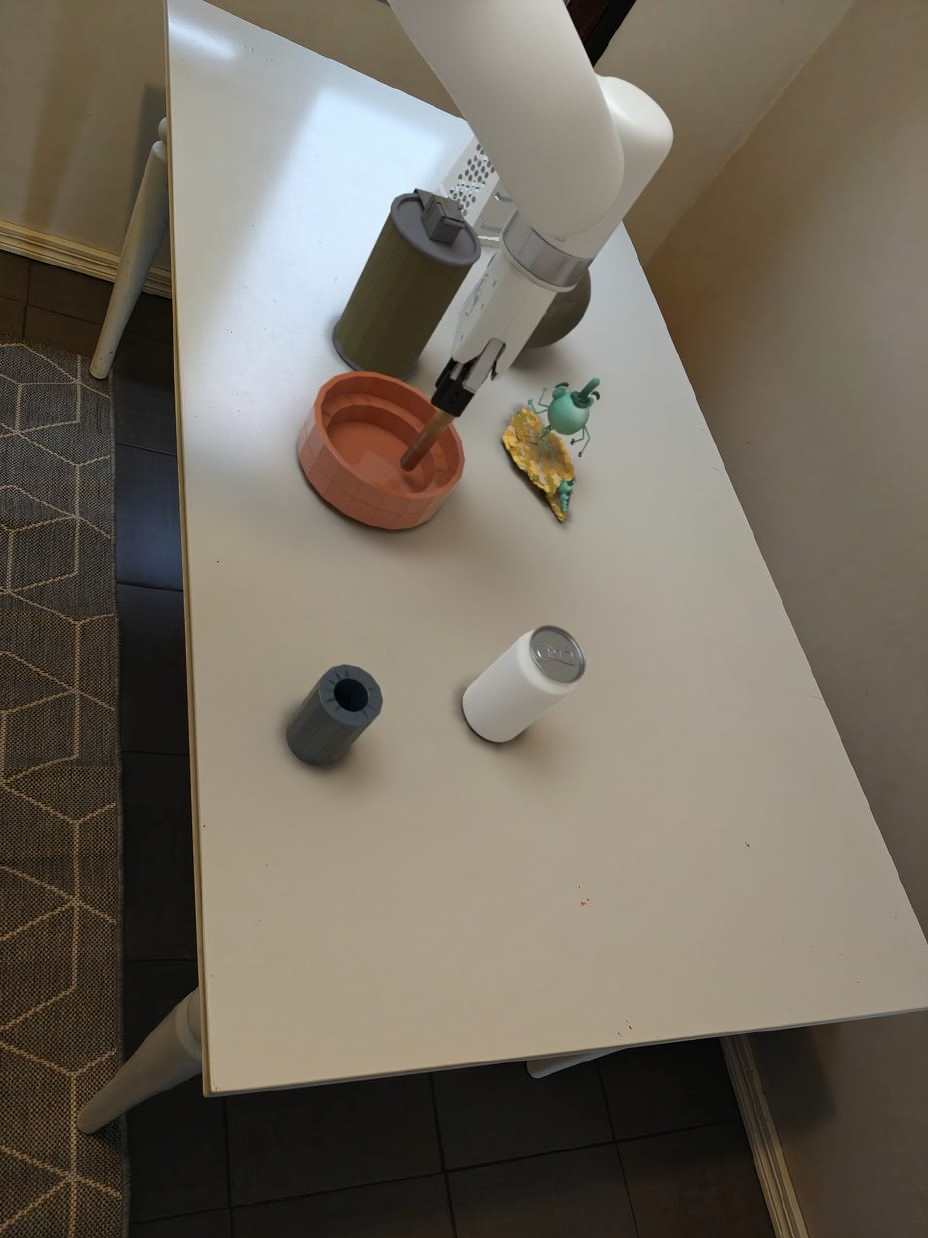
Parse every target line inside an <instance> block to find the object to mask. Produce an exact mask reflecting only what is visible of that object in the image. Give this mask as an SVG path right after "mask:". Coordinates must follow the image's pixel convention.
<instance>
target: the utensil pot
mask: <svg viewBox="0 0 928 1238" xmlns="http://www.w3.org/2000/svg"><path fill="white" fill-rule="evenodd" d="M383 703H384V699H383V694H382V690H381V687H380V685H379V684H378V682H377V681H376V679H375V678H374V677H373V675H372V674H370V673H369V672H367V671H365V670H364V669H363V668H361V667H360V666H356V665H351V664H347V663H346V664H340V665H336V666H332V667H330V668H329V669H328V670H327V671H326V672H325V673H324V674H322V675H321V677H320V678H319V680H318V681H317V682H316V683H315V685H314V686H313V687H312V689H311V690H310V691H309V693H308V694H307V695H306V697H305V698H304V699H303V700H302V702H301V704H300V705H299V706H298V708H297V709H296V710H295V711H294V713H293V714H292V716H291V717H290V720H289V721H288V724H287V727H286V740H287V743H288V746H289V747H290V750H291V751H292V752H293V754H294V755H295V756H296V757H297V758H298V759H300V760H301V761H303V762H304V763H307V764H310V765H312V766H313V765H314V766H328V765H330V764H333V763H335V762H336V761H337V760H338V759H340V758H341V757H342V755H343V754H344V753H345V752H347V750H348V749H350V747H351V746H352V745H353V744H354V743H355V741H356V740H357V739H358V738H359V737H360V736H361V735H362V734H363V733H364V732H365V731H366V730H367V728H369V726H370V725H372V723H373V722H374V721H375V720H376V719H377V717H379V716H380V714H381V712H382V707H383Z"/></svg>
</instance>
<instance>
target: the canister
mask: <svg viewBox="0 0 928 1238" xmlns="http://www.w3.org/2000/svg"><path fill="white" fill-rule="evenodd" d="M389 209H390V211H389V213H388V215H387V217H386V220H385V221H384V224H383V226H382V227H381V231H380V232H379V234H378V237H377V239H376V241H375V243H374V245H373V247H372V249H371V250H370V251H371V252H370V254H369V256H368V258H367V260H366V262H365V264H364V267H363V269H362V270H361V273H360V275H359V278H358V279H357V281H356V284H355V286H354V288H353V290H352V292H351V294H350V296H349V299H348V301H347V303H346V305H345V307H344V310H343V312H342V313H341V316H340V317H339V320H338V321H336V323H335V324H334V326H333V329H332V334H331V335H332V336H331V339H332V341H333V344H334V348H335V350H336V351H337V353H338V354H339V356H340V357H341V359H342V360H343V361H345V363H346V364H348V366H350V368H352V369H353V370H354V371H364V372H376V373H379V374H383V375H386V376H390V377H393V378H396V379H398V380H400V381H402V382H404V381H407V379H408V378H410V377H411V376H412V374H413V373H414V369H415V366H416V364H417V362H418V360H419V358H420V357H421V355H422V353H423V351H424V350H425V348H426V346H427V344H428V343H429V341H430V339H431V338H432V336H433V334H434V333H435V331H436V329H437V328H438V327H439V324H440V322H441V320H443V317H444V316H445V314H446V312H447V310H448V309H449V308H450V305H451V304H452V302H453V300H454V298H455V297H456V295H457V293H458V292H459V290H460V288H461V287H462V285H463V283H464V281H465V280H466V278H467V276H468V275H469V272H470V271H471V269H473V266H474V265H475V264H476V262H478V261H479V260H480V258H481V256H482V252H483V251H482V250H483V249H482V245H481V243H480V240H479V238H478V236H477V234H476V232H475V231H474V229H473V228H472V227H471V225H470V224H469V223H468V222H467V221H466V220H465V219H464V217H463V216H464V214H463V215H462V213H461V211H462V210H463V209H462V205H460V201H459V200H457V201H456V200H452V199H451V198H445V197H442V196H438V195H436V194H435V193H433V192H430V191H427V190H423V189H420V188H417V187H415V188H414V190H413V192H407V193H402V194H400V195H398V196H395V197H394V199H393V200H392V202H391V205H390V208H389Z"/></svg>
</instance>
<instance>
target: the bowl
mask: <svg viewBox="0 0 928 1238" xmlns="http://www.w3.org/2000/svg"><path fill="white" fill-rule="evenodd" d="M438 409H439V408H437V407H435V406H433V405H432V404H431V398H429V397H428V396H427V395H425V393H423V392H422V391H421V390H419V389H418V388H416V387H414V386H412V385H410V384H408V383H406V382H404V381H400V380H398V379H396V378H393V377H390V376H386V375H383V374H379V373H376V372H364V371H356V370H351V371H348V372H344V373H340V374H336V375H333V376H332V378H330V379H328V380H327V381H326V382H325V383H324V384H323V385H322V386H321V387H319V390H318V391H317V394H316V395H315V397H314V400H313V402H312V404H311V406H310V408H309V410H308V412H307V414H306V416H305V419H304V421H303V422H302V425H301V427H300V430H299V433H298V435H297V456H298V457H297V458H298V459H299V462H300V465H301V467H302V470H303V471H304V474H305V476H306V479H307V480H308V481H309V482H310V484H311V485H312V486H313V487H314V489H315V490H316V491H317V492H318V494H319V495H320V496H321V497H322V498H323V499H324V500H325V501H327V502H328V503H329V504H331V505H332V506H333V507H334V508H335V509H337V510H338V511H339V512H341V513H342V514H343V515H345V516H348V517H349V518H352V519H354V520H356V521H358V522H361V523H363V524H365V525H368V526H372V527H378V528H383V529H386V530H403V529H412V528H415V527H417V526H420V525H421V524H423V523H425V522H428V521H430V520H431V519H432V517H433V516H434V515H435V513H437V511H438V509H440V507H441V506H442V504H443V503H444V501H446V499H447V498H448V496H449V495H450V494H451V492H452V491H453V489H454V488H455V487H456V485H457V484H458V482H459V481H460V480H461V479H462V477H463V473H464V472H463V471H464V467H465V463H466V458H465V452H464V447H463V442H462V439H461V437H460V435H459V433H458V430H457V429H456V427H455V425H454V423H453V422H452V423H451V424H450V425H449V426H448V428H447V429H446V430H445V431H444V433H443V434H442V435H441V436H440V438H439V439H438V440H437V441H436V443H435V444H434V445H433V446H432V448H431V449H430V450H429V451H428V453H427V454H426V455H425V456H424V458H423V459H422V460H421V461H420V463H419V464H418V465H417V466H416V468H415V469H414V470H412V471H410V472H406V471H404V470H402V469H401V467H400V464H399V462H400V459H401V457H402V456H403V455H404V453H405V452H406V451H407V449H408V448H409V447H410V446H411V444H412V443H413V442H414V440H415V439H416V438H417V436H418V435H419V434H420V433H421V431H422V430H423V429H424V427H425V426H426V425H427V423H428V422H429V421H430V420H431V418H432V417H433V416H434V414H435V413H436V412H437V410H438Z"/></svg>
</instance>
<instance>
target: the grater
mask: <svg viewBox="0 0 928 1238" xmlns="http://www.w3.org/2000/svg"><path fill="white" fill-rule="evenodd" d="M481 155H482V156H481ZM485 157H487V156H486V154H485V153H484V151H483V149H482V147H481V146H480V144H479V142H478V140H477V139H476V137H475V135H474V136H473V137H472V138H471V140H470V142H469V143H468V145H467V146H466V147H465V149H464V150H463V151H462V152H461V154H460V155H459V157H458V158H457V159H456V161H455V163H454V164H453V165H452V167H451V169H450V170H449V171H448V172H447V173H446V175H445V177H444V178H443V179H442V180H441V183H442V184H443V187H444V189H445V191H446V193H447V195H448V197H449V199H452V200H456V201H458V200H460V201H459V203H460V206H463V209H461V213H462V215H463V217H464V219H465V220H466V221H467V222H468V223H469V224H470V225H471V227H472V228H473V229H474V231H475V232H476V234H477V236H487V237H499V235H500V232H498V231H492V230H485V229H483V228H482V225H483V223H484V224H485V226H486V227H491V228H497V229H503V227H504V226H505V224H506V223H507V221H508V219H509V218H510V216H511V214H512V212H513V211H514V209H515V205H514V203H513V201H512V199H511V197H510V196H509V194H508V192H507V190H506V188H505V187H504V185H503V183H502V181H501V180H500V178H499V176H498V174H497V173H496V171H495V169H494V167H493V166H492V164H491V163H490V161H489V159H488V158H487V160H486V159H485ZM463 181H465V183H463ZM473 183H475V185H473ZM456 185H457V186H460V188H459V190H458V191H456ZM482 185H484V187H482ZM452 187H453V188H454V190H450V189H451V188H452ZM465 187H467V188H469V190H468V191H467V192H466V191H465ZM475 189H479V192H478V193H476V192H475ZM460 190H463V192H461V191H460ZM469 191H472V194H469V195H468V193H469ZM433 194H435V195H438V196H442V197H444V196H443V195H442V193H441V191H440V189H439V188H438V187H437V188H436V189H435V191H434V193H433ZM471 195H472V196H471ZM495 196H497V197H498V199H499V200H500V201H499V200H497V199H496V198H495ZM454 197H456V198H455V199H454ZM475 197H476V198H475ZM463 199H465V201H463ZM472 200H473V201H474V202H473V201H472ZM467 202H469V206H468V207H467V205H466V204H467ZM465 210H466V215H464V211H465ZM479 240H480V243H481V246H485V247H492V248H499V249H500V248H501V246H500V243H499V241H495V240H488V239H481V238H479Z"/></svg>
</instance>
